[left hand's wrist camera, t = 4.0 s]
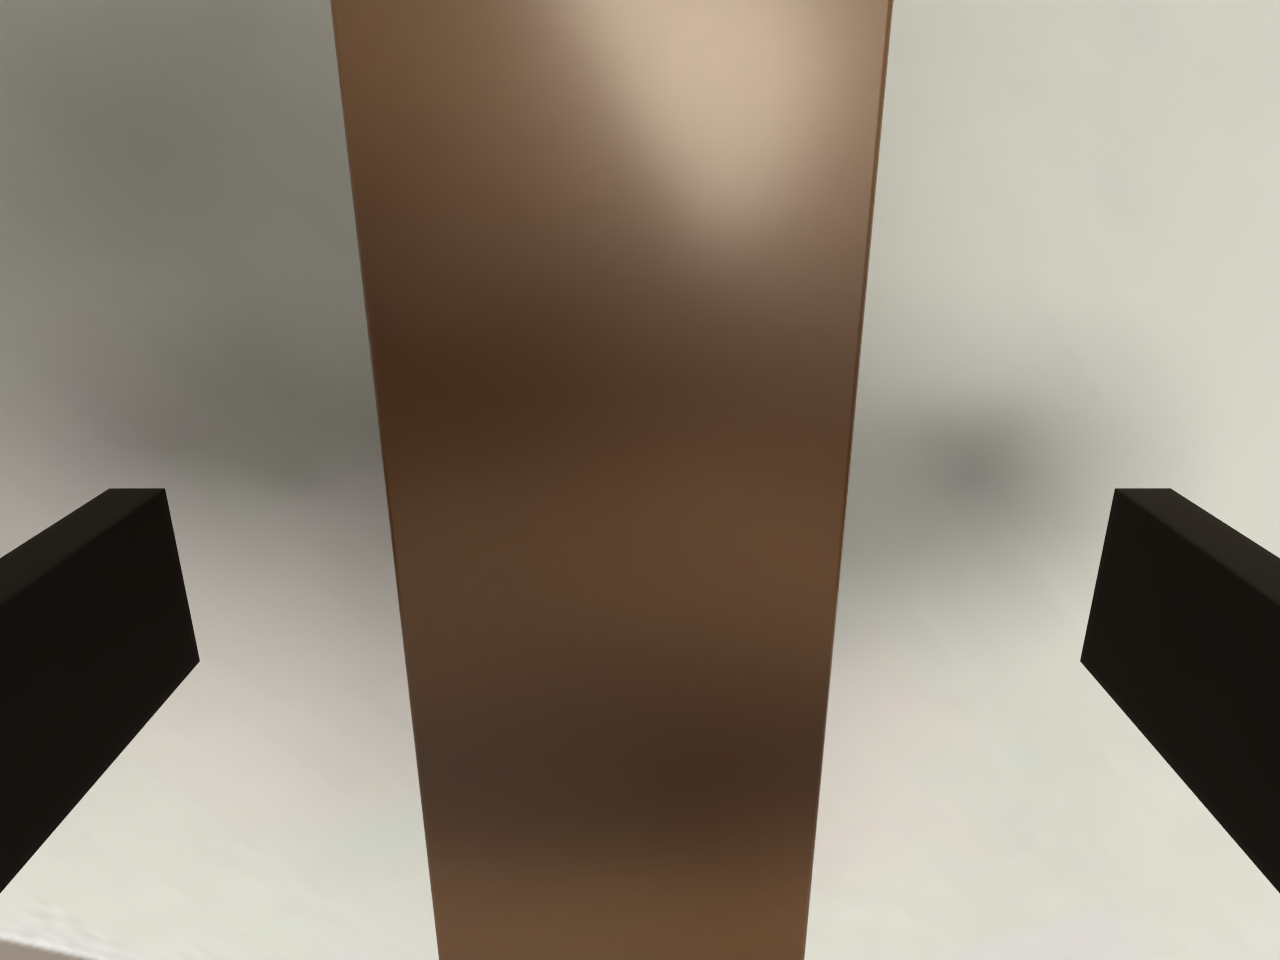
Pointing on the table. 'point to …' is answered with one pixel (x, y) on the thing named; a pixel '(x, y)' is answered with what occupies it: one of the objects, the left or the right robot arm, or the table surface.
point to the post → (616, 445)
